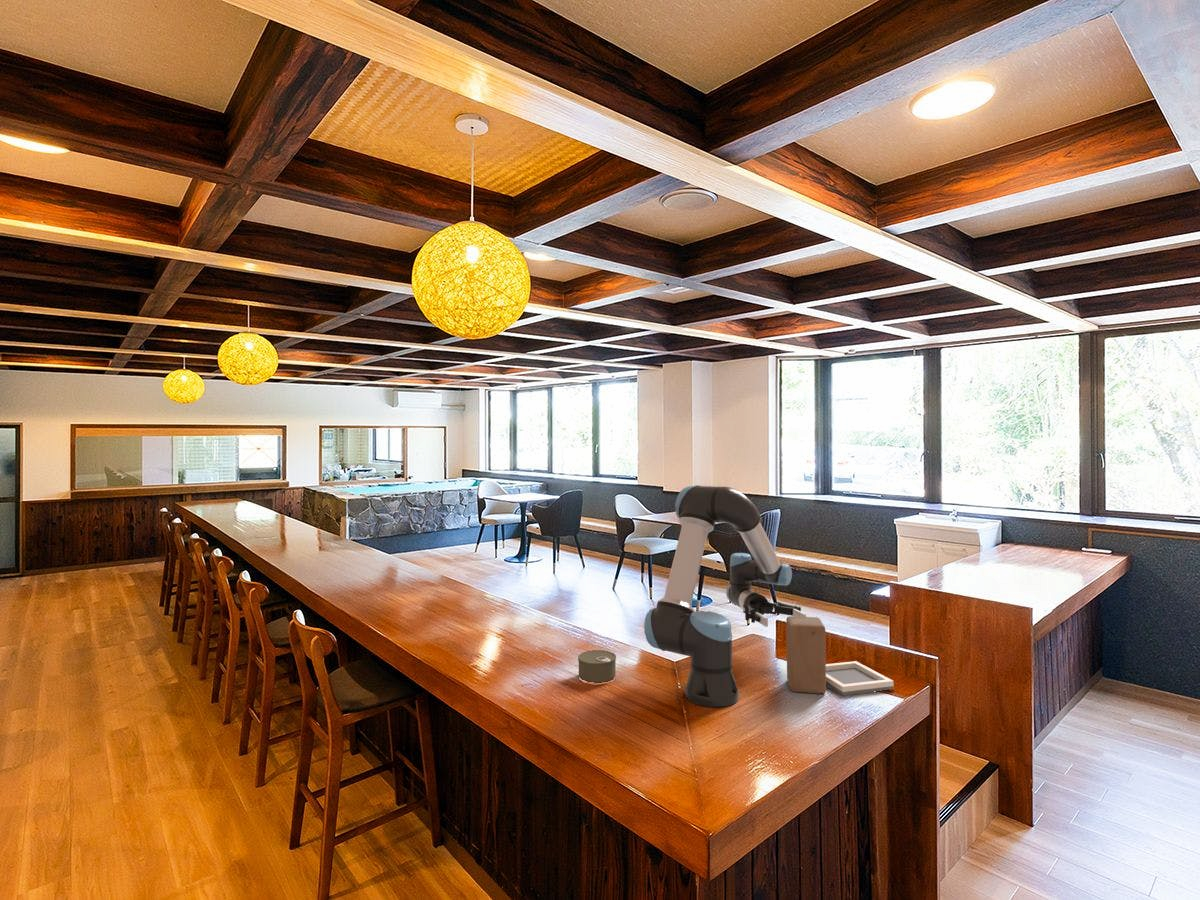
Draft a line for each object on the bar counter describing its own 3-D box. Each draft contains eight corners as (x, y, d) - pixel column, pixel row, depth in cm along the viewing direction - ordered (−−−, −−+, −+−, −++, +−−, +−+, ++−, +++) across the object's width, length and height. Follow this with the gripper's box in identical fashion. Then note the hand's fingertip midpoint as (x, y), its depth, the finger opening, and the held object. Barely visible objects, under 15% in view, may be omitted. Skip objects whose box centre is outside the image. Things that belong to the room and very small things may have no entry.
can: (597, 668, 195) (597, 647, 195) (624, 678, 187) (623, 656, 187) (570, 678, 187) (570, 656, 187) (596, 689, 178) (596, 666, 178)
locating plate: (842, 696, 171) (842, 686, 171) (809, 674, 188) (809, 666, 188) (893, 690, 175) (893, 680, 175) (856, 669, 192) (855, 661, 192)
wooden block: (826, 695, 172) (825, 626, 172) (790, 692, 174) (789, 624, 174) (820, 681, 182) (820, 616, 182) (786, 679, 184) (785, 615, 184)
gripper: (785, 610, 213) (820, 628, 192) (721, 616, 207) (750, 635, 186) (785, 589, 213) (820, 605, 192) (720, 595, 207) (750, 612, 186)
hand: (786, 620), depth 189 cm, fingers open, 13 cm apart
